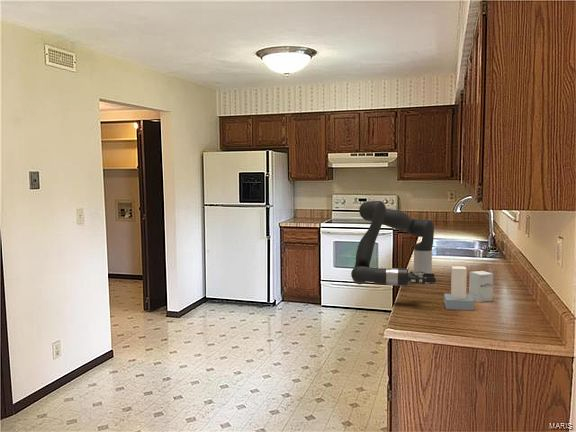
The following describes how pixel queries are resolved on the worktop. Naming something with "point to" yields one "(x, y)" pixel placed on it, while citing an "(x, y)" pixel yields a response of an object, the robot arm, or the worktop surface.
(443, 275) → the worktop surface
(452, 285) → the cream block
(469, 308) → the plinth
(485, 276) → the supplement box
